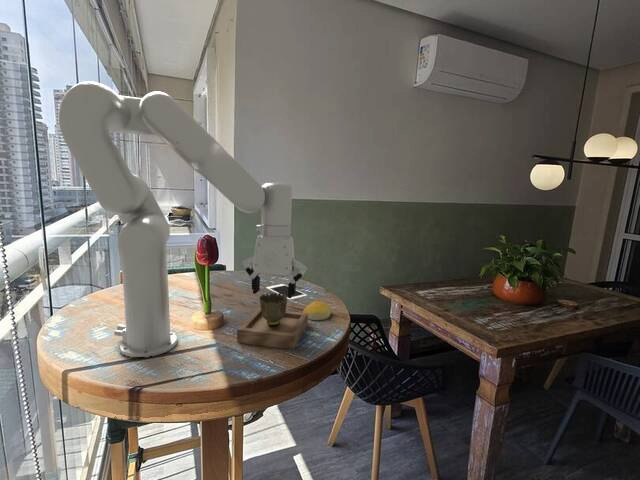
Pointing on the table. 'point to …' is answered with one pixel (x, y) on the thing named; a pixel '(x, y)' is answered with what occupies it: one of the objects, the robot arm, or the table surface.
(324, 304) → the bread roll
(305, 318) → the walnut tray
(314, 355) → the table surface
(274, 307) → the cup
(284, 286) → the cell phone
